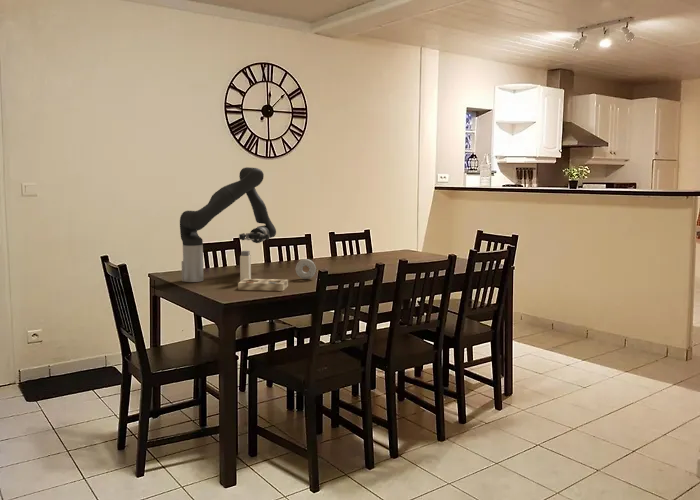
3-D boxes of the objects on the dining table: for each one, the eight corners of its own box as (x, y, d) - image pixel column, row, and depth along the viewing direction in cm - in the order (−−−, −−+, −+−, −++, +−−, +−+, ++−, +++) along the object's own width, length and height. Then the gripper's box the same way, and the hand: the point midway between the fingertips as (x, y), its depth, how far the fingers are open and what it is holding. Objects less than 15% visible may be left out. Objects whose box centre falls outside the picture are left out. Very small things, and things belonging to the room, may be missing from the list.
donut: (295, 279, 305) (295, 259, 304) (296, 278, 309) (296, 258, 308) (315, 279, 305) (315, 259, 303) (316, 278, 308) (316, 258, 307)
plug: (240, 283, 292) (240, 251, 290) (242, 282, 296) (242, 250, 294) (248, 283, 292) (248, 251, 290) (250, 282, 296) (250, 250, 294)
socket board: (238, 289, 277) (238, 282, 276) (244, 285, 288) (244, 278, 288) (283, 290, 275) (283, 283, 275) (288, 286, 287) (288, 278, 286)
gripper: (244, 227, 319) (236, 230, 303) (272, 227, 318) (265, 230, 302) (245, 242, 320) (236, 245, 304) (272, 242, 319) (265, 246, 303)
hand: (251, 238), depth 303 cm, fingers open, 8 cm apart
